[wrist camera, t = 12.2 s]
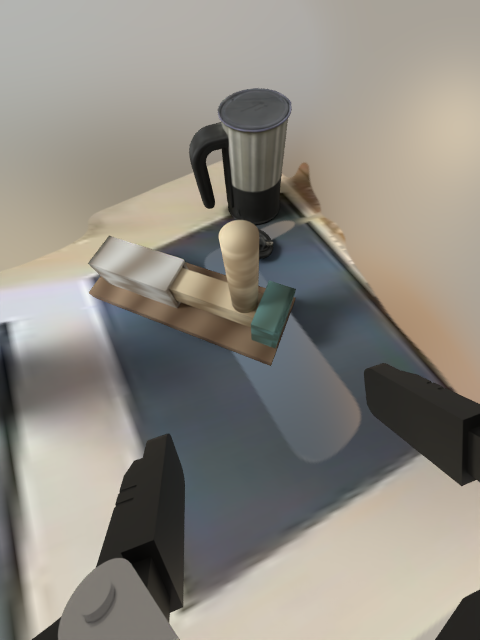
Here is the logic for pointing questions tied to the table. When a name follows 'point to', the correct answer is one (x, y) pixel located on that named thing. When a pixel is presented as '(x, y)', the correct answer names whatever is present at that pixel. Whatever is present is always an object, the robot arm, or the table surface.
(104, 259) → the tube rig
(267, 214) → the milk frother
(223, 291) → the cream l-shaped piece
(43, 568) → the table surface
